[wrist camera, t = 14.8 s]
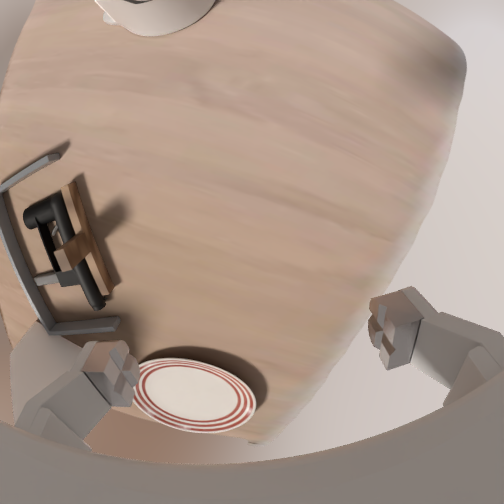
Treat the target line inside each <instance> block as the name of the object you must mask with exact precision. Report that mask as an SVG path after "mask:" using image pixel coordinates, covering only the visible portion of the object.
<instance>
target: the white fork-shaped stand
mask: <svg viewBox="0 0 504 504" xmlns="http://www.w3.org/2000/svg"><path fill="white" fill-rule="evenodd" d="M82 349H83V348H81V347H80V346H78V345H76V344H74V343H72V342H70V341H69V340H67V339H65V338H63V337H62V336H60V335H56V336H49V335H48V333H47V332H46V330H45V328H44V327H43V325H42V324H40V323H38V322H37V321H35V322H34V324H33V325H32V326H31V327H30V329H29V330H28V331H27V332H26V334H25V335H24V336H23V337H22V339H21V340H20V341H19V343H18V344H17V345H16V347H15V348H14V349H13V351H12V352H11V353H10V379H11V395H12V406H13V415H14V422H15V424H16V422H17V420H18V418H19V416H20V414H21V412H22V410H23V408H24V406H25V404H26V402H27V401H29V400H30V399H31V398H32V397H34V396H35V395H36V394H38V393H39V392H40V391H41V390H43V389H44V388H45V387H47V386H48V385H49V384H51V383H52V382H53V381H55V380H56V379H57V378H58V377H60V376H61V375H62V374H64V373H65V372H66V371H70V370H71V368H72V366H73V364H74V363H75V361H76V359H77V357H78V356H79V354H80V352H81V350H82Z"/></svg>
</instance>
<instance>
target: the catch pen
mask: <svg viewBox="0 0 504 504" xmlns="http://www.w3.org/2000/svg"><path fill="white" fill-rule="evenodd" d="M59 159H60V156H59V153H56V154H51V155H47V156H45V157H43V158H42V159H40V160H38V161H37V162H35V163H33V164H32V165H30V166H29V167H27V168H25V169H24V170H22V171H21V172H19V173H18V174H16V175H15V176H13V177H12V178H10V179H9V180H7V181H6V182H5V183H3V184H2V185H0V236H1V239H2V241H3V244H4V247H5V249H6V252H7V254H8V257H9V259H10V262H11V264H12V266H13V269H14V271H15V273H16V275H17V278H18V280H19V282H20V284H21V286H22V288H23V290H24V292H25V294H26V296H27V298H28V300H29V302H30V304H31V306H32V308H33V309H34V311H35V313H36V315H37V316H38V318H39V320H40V322H41V323H42V325H43V327H44V328H45V330H46V332H47V333H48V335H49V336H56V335H74V334H88V333H101V332H112V331H116V329H117V327H118V325H119V323H120V321H121V320H120V318H119V316H115V317H107V318H99V319H90V320H81V321H71V322H61V323H56V322H55V320H54V318H53V317H52V315H51V313H50V311H49V310H48V308H47V306H46V304H45V302H44V300H43V298H42V296H41V294H40V292H39V290H38V288H37V286H36V284H35V282H34V280H33V278H32V276H31V274H30V271H29V269H28V267H27V265H26V262H25V260H24V257H23V255H22V252H21V250H20V247H19V245H18V242H17V239H16V237H15V234H14V231H13V228H12V225H11V222H10V219H9V216H8V213H7V209H6V206H5V203H4V199H3V195H2V193H4V192H5V191H7V190H8V189H10V188H11V187H13V186H14V185H16V184H17V183H19V182H21V181H22V180H24V179H25V178H27V177H29V176H30V175H32V174H34V173H35V172H37V171H39V170H41V169H42V168H44V167H46V166H48V165H50V164H51V163H53V162H55V161H57V160H59Z"/></svg>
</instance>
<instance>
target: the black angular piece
mask: <svg viewBox="0 0 504 504" xmlns="http://www.w3.org/2000/svg"><path fill="white" fill-rule="evenodd" d="M23 220H24V223H25V225H26V227H27V228H29V229H34V228H36V227H38V230H39V233H40V236H41V239H42V241H43V244H44V247H45V249H46V252H47V255H48V257H49V260H50V262H51V264H52V267H53V269H54V272H49V273H45V274H41V275H37V276H36V277H35V278H34V280H35V282H36V284H37V286H41V285H47V284H54V283H60V285H61V287H66V286H73V285H81V287H82V289H83V291H84V294H85V296H86V298H87V300H88V302H89V304H90V305H91V306H92V308H93V309H94V311H98V310H101V309H102V308H104V307H105V305H106V303H105V299H107V298H104V295H103V296H102V294H101V292H100V290H99V288H98V286H97V284H96V281H95V279H94V277H93V275H92V273H91V270H90V268H89V266H88V263H87V261H86V259H85V258H84V259H83V260H82V261H80V262H79V263H78V264H77V265H76V266H75V267H74V268H73V269H72V270H69V271H65V272H62V270H61V268H60V266H59V264H58V261H57V259H56V257H55V254H54V251H56V248H55V245H54V243H53V240H52V237H51V234H50V231H49V229H48V226H47V223H49V222H52V221H56V226H55V227H54V229H53V231H52V235H53V236H54V235H55V233H56V231H57V229H58V230H59V233H60V236H61V238H62V241H63V244H65V243H66V242H67V241H69V240H70V239H71V238H73V237H74V236H75V235H76V233H75V231H74V228H73V225H72V222H71V219H70V216H69V214H68V211H67V207H66V204H65V201H64V198H63V195H62V193H57V194H55V195H54V196H52V197H50V198H48V199H46V200H44V201H41V202H39V203H37V204H35V205H33V206H31V207H29V208H27V209H25V210H24V213H23Z"/></svg>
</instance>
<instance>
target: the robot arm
mask: <svg viewBox="0 0 504 504" xmlns="http://www.w3.org/2000/svg"><path fill="white" fill-rule="evenodd" d="M94 1H95V2H96V3H97V4H98V5H99V6H100V7H101V8H102V9H103V10H104V15H103V20H104V22H105V23H106V24H109V25H120V26H122V27H124V28H125V29H127V30H128V31H130V32H132V33H134V34H138V35H142V36H159V35H165V34H169V33H173V32H176V31H179V30H181V29H183V28H185V27H187V26H189V25H191V24H193V23H194V22H196V21H197V20H199V19H200V18H201V17H202V16H204V15H205V14H206V13H207V12H208V11H209V9H210V8H211V7H212V5H213V4H214V2H215V1H216V0H94ZM369 309H370V311H371V312H372V316H371V317H370V318H369V320H368V330H369V336H370V339H371V342H372V344H373V346H374V347H376V348H378V349H380V354H379V357H380V359H381V361H382V363H383V364H384V366H385V368H386V370H390V369H393V368H396V367H399V366H402V365H405V364H408V363H410V364H411V365H412V366H414V367H415V368H417V369H418V370H420V371H422V372H423V373H425V374H427V375H428V376H430V377H431V378H433V379H435V380H436V381H438V382H440V383H441V384H443V385H444V386H446V387H447V388H449V389H451V390H450V392H449V393H448V395H447V397H446V399H445V401H444V403H443V406H444V407H442V408H440V409H438V410H436V411H434V412H432V413H430V414H428V415H426V416H424V417H422V418H419V419H417V420H415V421H413V422H410V423H408V424H405V425H403V426H401V427H398V428H396V429H393V430H390V431H388V432H385V433H382V434H379V435H377V436H374V437H370V438H367V439H364V440H361V441H358V442H354V443H351V444H347V445H344V446H340V447H336V448H332V449H328V450H324V451H319V452H315V453H310V454H305V455H299V456H294V457H288V458H281V459H274V460H266V461H257V462H247V463H230V464H177V463H162V462H151V461H142V460H134V459H128V458H120V457H115V456H110V455H105V454H100V453H95V452H91V451H92V449H91V447H90V446H89V445H88V444H86V443H85V442H84V441H83V439H84V438H85V437H86V436H87V435H88V434H89V433H90V431H91V430H92V429H93V428H94V427H95V426H96V424H97V423H98V422H99V421H100V420H101V419H102V418H103V417H104V415H105V414H106V413H107V412H108V411H109V409H111V406H117V407H131V404H132V401H133V398H134V395H135V391H134V389H133V387H134V386H135V385H136V384H138V382H139V379H140V367H139V364H138V362H137V360H136V359H135V357H133V356H132V355H130V354H129V347H128V345H127V344H126V342H125V341H123V340H104V341H89V342H87V343H86V344H85V345H84V347H83V349H82V350H81V352H80V354H79V356H78V357H77V359H76V361H75V363H74V364H73V366H72V368H71V370H70V371H66V372H65V373H64V374H62V375H61V376H60V377H58V378H57V379H56V380H55V381H53V382H52V383H51V384H49V385H48V386H47V387H45V388H44V389H43V390H41V391H40V392H39V393H38V394H36V395H35V396H34V397H32V398H31V399H30V400H29V401H27V402H26V404H25V406H24V408H23V410H22V412H21V414H20V416H19V418H18V420H17V422H16V424H15V426H12V425H10V424H8V423H6V422H4V421H1V420H0V504H504V337H503V336H502V335H501V333H500V332H497V331H494V330H491V329H488V328H486V327H483V326H480V325H477V324H475V323H472V322H469V321H466V320H463V319H461V318H458V317H455V316H452V315H449V314H446V313H444V312H440V313H438V312H437V311H436V310H435V309H434V308H433V307H432V306H431V304H430V303H429V302H428V301H427V300H426V299H425V298H424V297H423V296H422V295H421V294H420V293H419V292H418V291H417V290H416V288H414V287H412V286H410V287H407V288H404V289H401V290H398V291H396V292H393V293H389V294H385V295H382V296H378V297H374V298H371V301H370V306H369Z"/></svg>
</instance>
